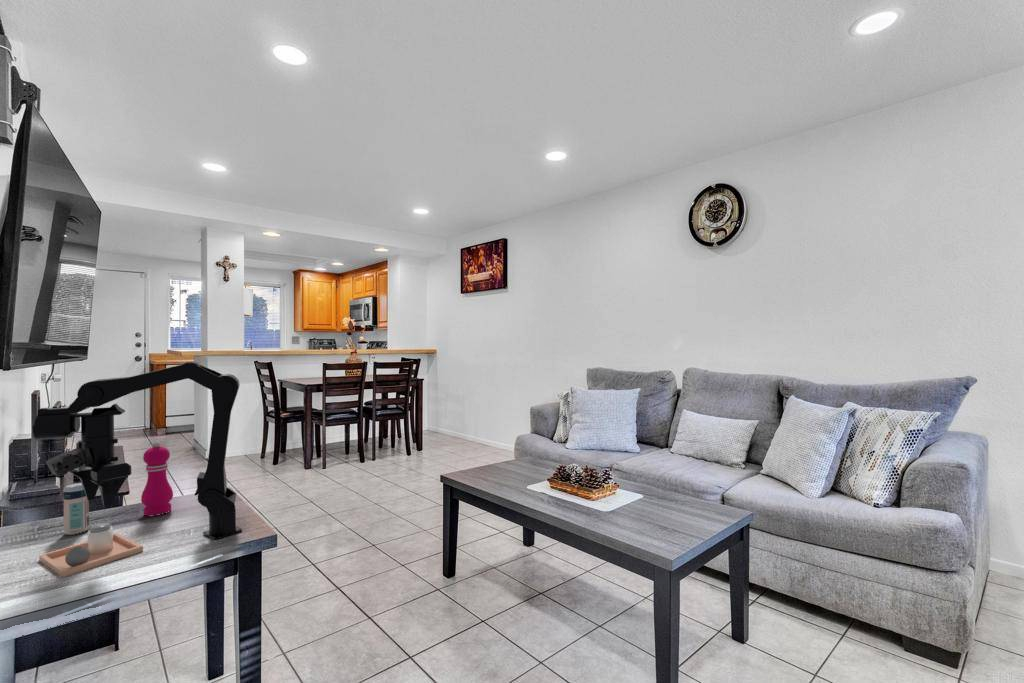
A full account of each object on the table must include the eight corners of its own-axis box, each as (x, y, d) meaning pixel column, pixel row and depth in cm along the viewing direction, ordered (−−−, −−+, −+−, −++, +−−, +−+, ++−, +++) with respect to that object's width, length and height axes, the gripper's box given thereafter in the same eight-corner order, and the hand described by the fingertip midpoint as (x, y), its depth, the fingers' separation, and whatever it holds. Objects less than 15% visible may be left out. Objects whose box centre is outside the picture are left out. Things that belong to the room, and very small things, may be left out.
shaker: (116, 549, 112) (116, 524, 112) (92, 556, 109) (92, 531, 108) (108, 544, 115) (108, 520, 115) (84, 551, 111) (84, 527, 111)
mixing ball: (93, 564, 105) (93, 545, 105) (69, 572, 102) (69, 552, 101) (86, 559, 107) (86, 541, 107) (62, 567, 104) (62, 548, 104)
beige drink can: (81, 527, 126) (80, 481, 126) (93, 529, 125) (93, 483, 124) (59, 534, 122) (58, 486, 121) (71, 537, 120) (70, 488, 120)
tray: (143, 553, 111) (143, 546, 111) (62, 579, 99) (62, 571, 99) (117, 539, 119) (117, 532, 119) (39, 562, 107) (39, 555, 107)
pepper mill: (156, 518, 132) (155, 444, 132) (134, 516, 134) (133, 443, 133) (179, 508, 139) (178, 438, 139) (158, 507, 141) (157, 437, 140)
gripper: (36, 437, 109) (37, 506, 109) (66, 447, 99) (68, 523, 100) (98, 428, 119) (99, 492, 119) (132, 437, 109) (133, 507, 109)
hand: (98, 503), depth 111 cm, fingers open, 9 cm apart
